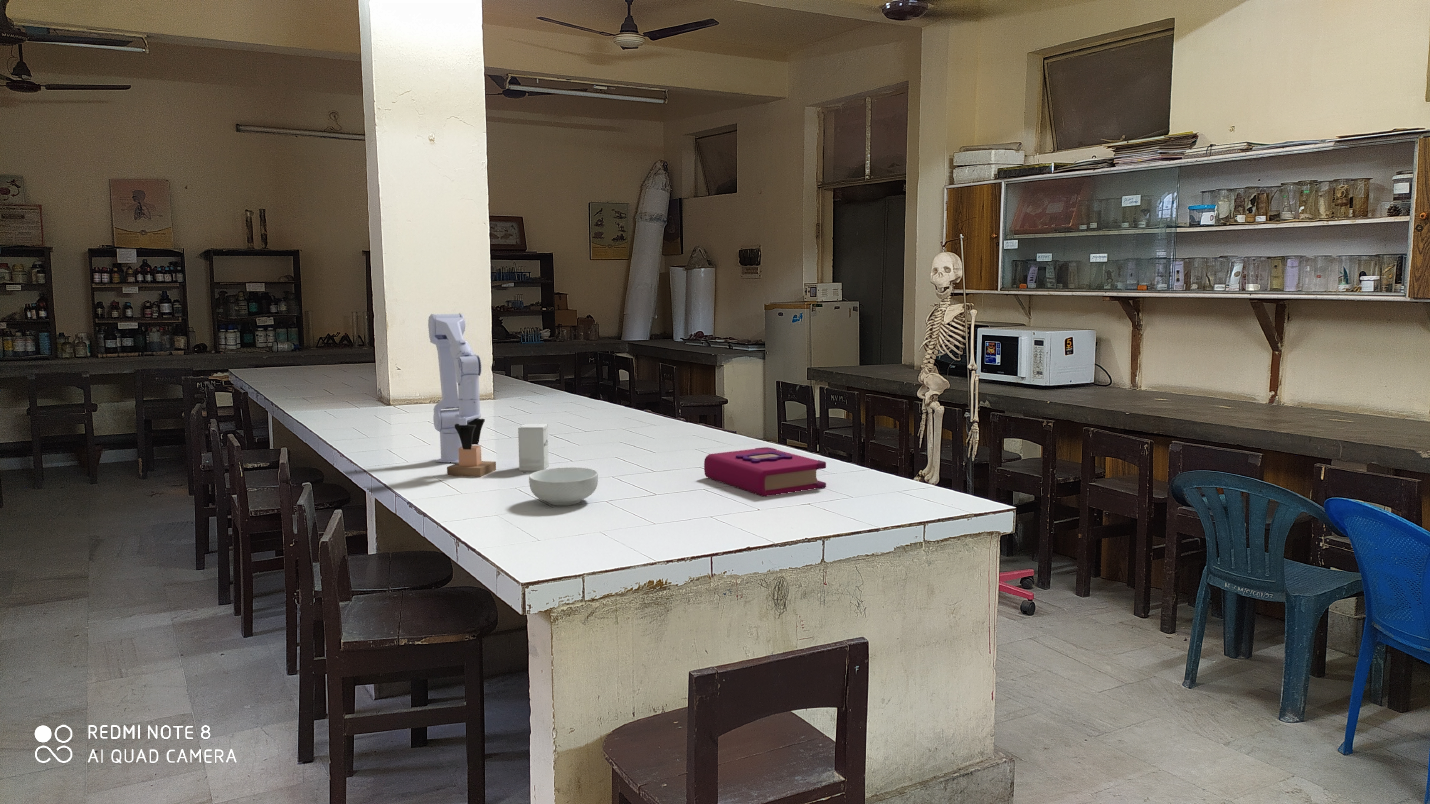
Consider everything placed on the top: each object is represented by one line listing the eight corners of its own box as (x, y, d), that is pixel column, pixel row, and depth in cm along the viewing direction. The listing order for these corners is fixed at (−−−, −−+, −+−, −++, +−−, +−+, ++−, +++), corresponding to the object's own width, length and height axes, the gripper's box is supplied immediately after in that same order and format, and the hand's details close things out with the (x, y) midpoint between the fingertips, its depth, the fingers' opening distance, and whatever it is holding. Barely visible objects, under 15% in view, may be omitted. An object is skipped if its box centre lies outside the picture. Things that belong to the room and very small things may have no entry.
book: (761, 499, 243) (761, 468, 242) (704, 479, 267) (703, 452, 266) (828, 489, 254) (828, 460, 253) (767, 471, 278) (767, 444, 277)
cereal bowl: (524, 497, 245) (523, 469, 244) (589, 492, 250) (588, 465, 250) (536, 512, 229) (535, 483, 228) (606, 506, 235) (605, 477, 234)
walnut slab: (463, 470, 282) (463, 460, 282) (496, 471, 280) (495, 461, 280) (447, 477, 272) (446, 467, 272) (480, 478, 270) (480, 468, 270)
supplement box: (544, 471, 278) (543, 427, 276) (518, 471, 278) (517, 427, 276) (549, 466, 285) (548, 423, 284) (524, 466, 285) (522, 423, 284)
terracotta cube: (464, 462, 278) (463, 445, 278) (481, 462, 278) (480, 445, 278) (459, 465, 273) (458, 448, 273) (476, 465, 273) (476, 448, 273)
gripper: (462, 395, 281) (463, 442, 283) (447, 402, 266) (449, 451, 268) (486, 395, 281) (488, 442, 282) (472, 402, 266) (474, 451, 268)
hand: (470, 446), depth 275 cm, fingers open, 7 cm apart
